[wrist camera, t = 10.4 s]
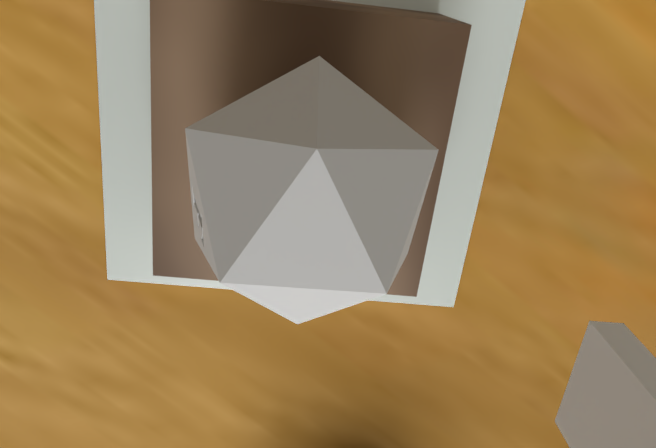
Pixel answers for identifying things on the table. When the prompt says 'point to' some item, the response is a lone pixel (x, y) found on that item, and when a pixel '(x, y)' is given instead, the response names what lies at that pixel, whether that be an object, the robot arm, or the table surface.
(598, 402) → the robot arm
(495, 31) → the base plate
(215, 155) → the die
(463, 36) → the walnut block
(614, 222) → the table surface
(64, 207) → the table surface
